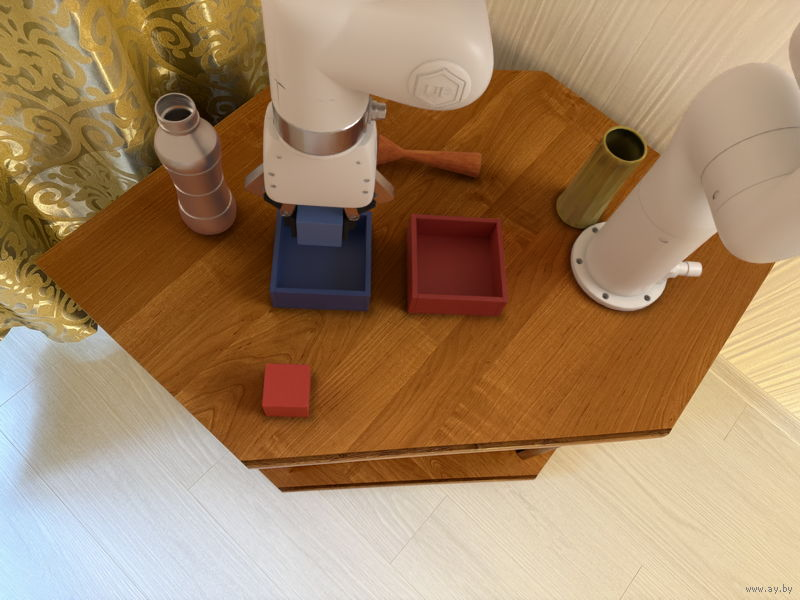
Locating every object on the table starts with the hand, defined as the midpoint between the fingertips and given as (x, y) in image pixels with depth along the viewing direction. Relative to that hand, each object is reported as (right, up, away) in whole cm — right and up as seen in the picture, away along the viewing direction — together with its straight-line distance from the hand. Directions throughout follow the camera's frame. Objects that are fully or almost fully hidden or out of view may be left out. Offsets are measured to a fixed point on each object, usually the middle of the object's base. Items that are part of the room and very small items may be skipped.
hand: (320, 226), depth 64 cm
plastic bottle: (-15, +2, +10) cm, 18 cm away
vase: (+33, +4, +17) cm, 37 cm away
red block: (-4, -19, +2) cm, 19 cm away
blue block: (0, 0, 0) cm, 0 cm away
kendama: (+9, +10, +17) cm, 21 cm away
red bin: (+15, -5, +11) cm, 19 cm away
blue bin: (-1, -4, +9) cm, 10 cm away
